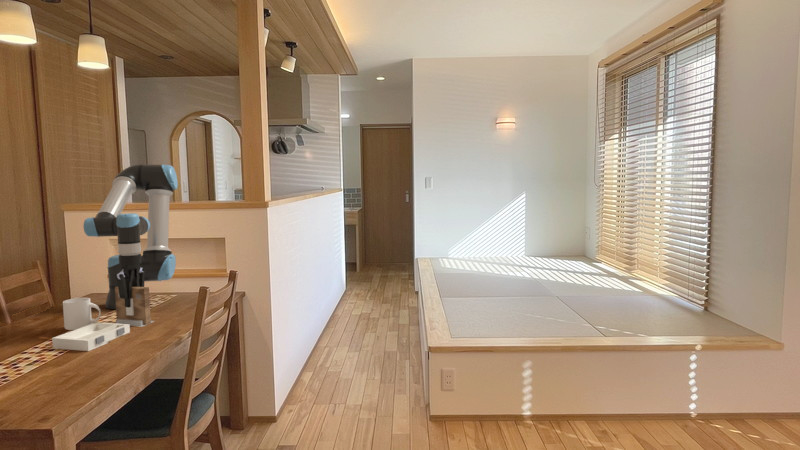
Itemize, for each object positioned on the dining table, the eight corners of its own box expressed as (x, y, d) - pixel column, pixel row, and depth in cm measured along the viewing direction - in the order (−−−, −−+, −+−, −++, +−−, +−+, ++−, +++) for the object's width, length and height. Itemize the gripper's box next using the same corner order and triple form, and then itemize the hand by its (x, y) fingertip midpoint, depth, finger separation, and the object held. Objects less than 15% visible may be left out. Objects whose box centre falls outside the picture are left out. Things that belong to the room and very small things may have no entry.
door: (150, 322, 183) (148, 287, 182) (145, 324, 180) (143, 288, 179) (121, 320, 186) (119, 285, 184) (116, 322, 183) (114, 287, 181)
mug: (97, 329, 177) (95, 301, 176) (60, 332, 174) (58, 303, 173) (105, 323, 185) (103, 296, 184) (70, 325, 182) (68, 298, 181)
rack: (126, 320, 188) (125, 314, 187) (154, 322, 185) (154, 316, 185) (112, 326, 181) (112, 320, 181) (141, 328, 178) (141, 321, 178)
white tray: (97, 331, 175) (96, 322, 174) (131, 333, 172) (130, 324, 171) (52, 348, 157) (52, 338, 157) (89, 351, 154) (89, 340, 154)
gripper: (136, 250, 189) (139, 308, 191) (105, 256, 174) (109, 319, 176) (152, 251, 187) (156, 308, 190) (122, 257, 172) (126, 320, 174)
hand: (133, 313), depth 183 cm, fingers closed on door, 2 cm apart
